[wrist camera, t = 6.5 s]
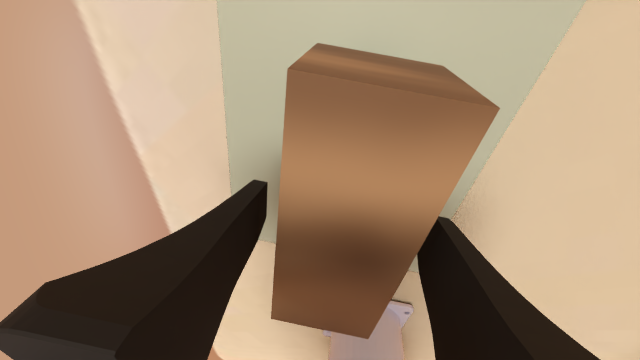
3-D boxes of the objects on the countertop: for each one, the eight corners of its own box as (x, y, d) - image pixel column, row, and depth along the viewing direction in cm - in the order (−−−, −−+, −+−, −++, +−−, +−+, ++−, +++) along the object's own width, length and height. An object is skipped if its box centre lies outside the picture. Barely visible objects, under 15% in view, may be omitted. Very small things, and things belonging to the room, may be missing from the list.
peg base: (416, 262, 22) (425, 307, 19) (238, 226, 23) (218, 263, 19) (587, -29, 11) (686, -44, 7) (220, -92, 11) (161, -131, 8)
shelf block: (366, 258, 17) (368, 339, 13) (292, 243, 17) (271, 318, 13) (443, 65, 10) (500, 108, 6) (317, 42, 10) (287, 68, 6)
